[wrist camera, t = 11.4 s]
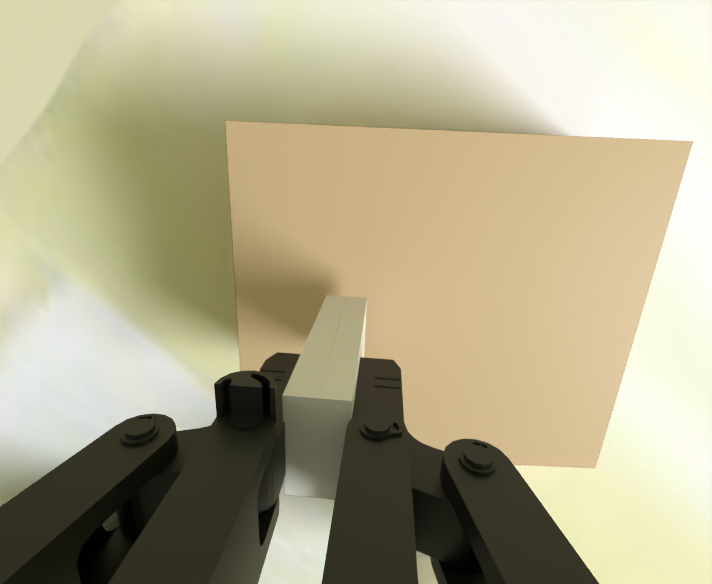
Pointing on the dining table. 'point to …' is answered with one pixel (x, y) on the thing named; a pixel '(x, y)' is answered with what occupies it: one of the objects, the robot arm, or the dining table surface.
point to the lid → (459, 267)
